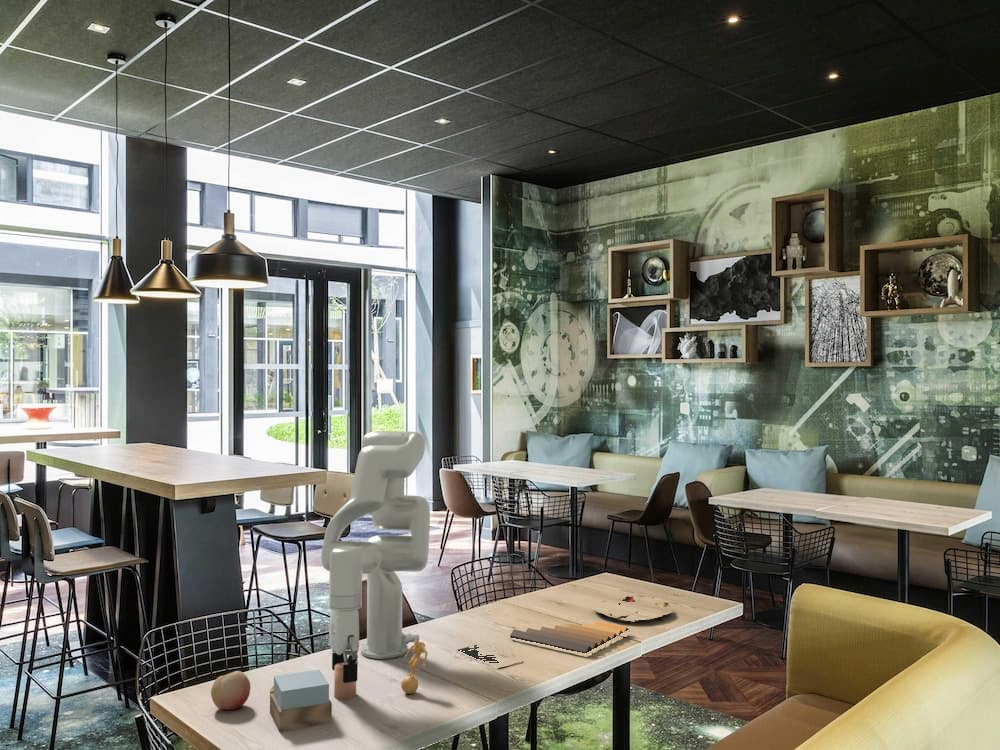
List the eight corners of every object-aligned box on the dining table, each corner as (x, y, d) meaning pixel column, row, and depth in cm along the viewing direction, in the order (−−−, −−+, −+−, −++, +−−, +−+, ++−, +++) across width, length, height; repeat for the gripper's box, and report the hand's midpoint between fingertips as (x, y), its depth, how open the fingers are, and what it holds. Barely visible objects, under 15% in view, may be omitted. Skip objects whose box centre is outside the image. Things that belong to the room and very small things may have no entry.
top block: (319, 687, 179) (319, 669, 179) (328, 703, 170) (329, 684, 170) (273, 694, 175) (273, 676, 175) (281, 710, 166) (281, 691, 166)
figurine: (393, 690, 189) (393, 639, 189) (414, 684, 192) (414, 634, 193) (412, 700, 182) (412, 648, 182) (433, 694, 186) (434, 642, 186)
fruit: (229, 699, 183) (229, 664, 183) (257, 704, 180) (257, 669, 180) (203, 712, 175) (204, 675, 176) (232, 717, 172) (232, 680, 173)
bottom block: (319, 706, 180) (319, 686, 180) (331, 724, 170) (331, 703, 170) (269, 714, 175) (270, 694, 175) (279, 733, 165) (279, 712, 165)
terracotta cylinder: (352, 690, 188) (352, 660, 189) (358, 697, 184) (358, 667, 184) (331, 693, 186) (332, 663, 186) (337, 701, 182) (337, 670, 182)
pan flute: (510, 642, 226) (585, 660, 211) (510, 630, 227) (585, 647, 212) (557, 622, 246) (629, 637, 231) (557, 611, 246) (629, 625, 232)
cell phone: (481, 646, 222) (481, 643, 222) (523, 663, 209) (523, 659, 209) (456, 653, 217) (456, 649, 217) (497, 671, 203) (497, 667, 203)
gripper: (320, 594, 191) (319, 667, 191) (339, 610, 176) (338, 689, 175) (351, 592, 195) (350, 662, 194) (372, 607, 179) (371, 684, 178)
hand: (344, 675), depth 185 cm, fingers open, 9 cm apart
